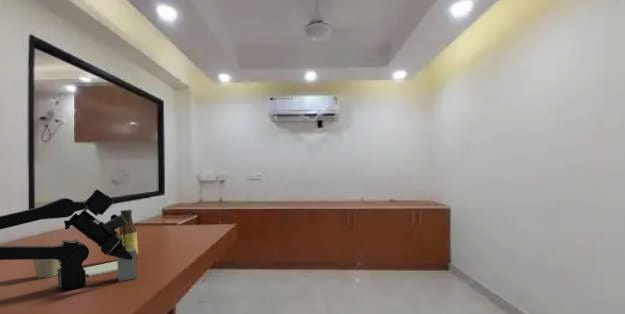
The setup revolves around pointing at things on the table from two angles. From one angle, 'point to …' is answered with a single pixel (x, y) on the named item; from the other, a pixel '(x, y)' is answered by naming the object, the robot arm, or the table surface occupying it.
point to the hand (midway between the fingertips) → (130, 256)
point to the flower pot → (46, 267)
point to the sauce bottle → (129, 232)
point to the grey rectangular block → (127, 266)
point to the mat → (101, 268)
